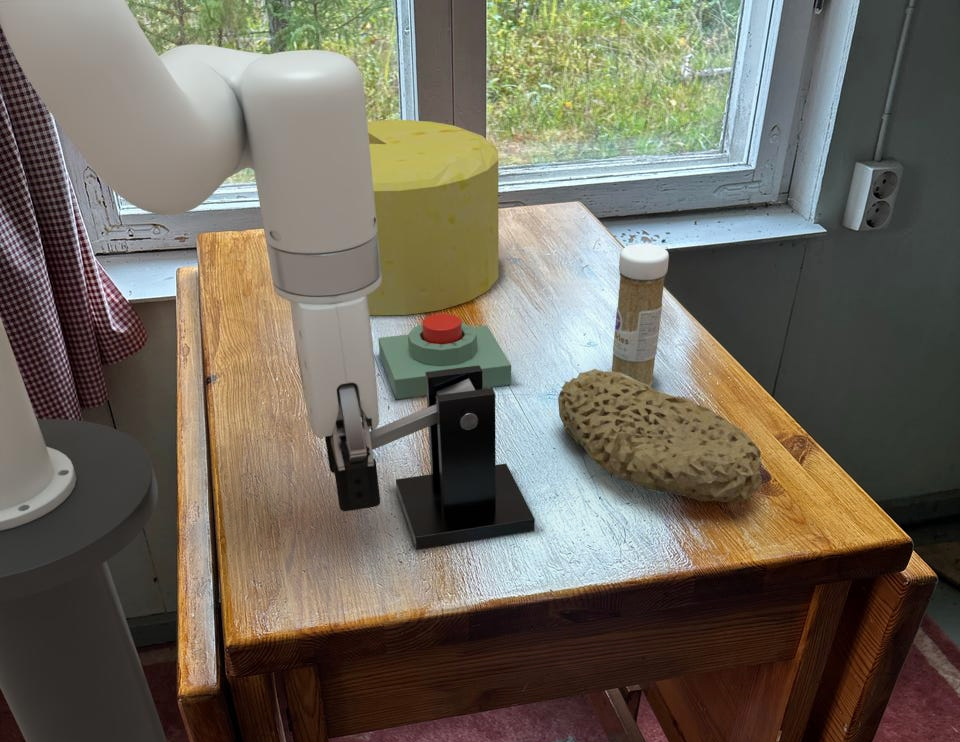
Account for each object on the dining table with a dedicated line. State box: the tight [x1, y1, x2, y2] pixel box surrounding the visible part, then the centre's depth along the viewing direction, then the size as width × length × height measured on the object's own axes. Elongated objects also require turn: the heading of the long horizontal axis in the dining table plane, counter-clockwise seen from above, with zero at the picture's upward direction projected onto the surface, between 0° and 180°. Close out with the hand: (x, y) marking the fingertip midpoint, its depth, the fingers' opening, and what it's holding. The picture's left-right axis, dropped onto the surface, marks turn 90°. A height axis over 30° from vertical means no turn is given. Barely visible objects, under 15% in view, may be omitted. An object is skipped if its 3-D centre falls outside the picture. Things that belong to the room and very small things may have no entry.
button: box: [421, 313, 463, 344], centre depth 99 cm, size 4×4×2 cm
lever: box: [330, 379, 475, 464], centre depth 76 cm, size 12×5×2 cm, turn 104°
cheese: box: [367, 119, 499, 316], centre depth 118 cm, size 26×26×15 cm
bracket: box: [395, 365, 536, 550], centre depth 79 cm, size 10×9×12 cm
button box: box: [377, 321, 512, 400], centre depth 101 cm, size 12×10×4 cm
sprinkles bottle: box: [610, 243, 670, 388], centre depth 95 cm, size 5×5×14 cm
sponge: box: [557, 368, 763, 503], centre depth 85 cm, size 13×8×20 cm
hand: (354, 485), depth 79 cm, fingers closed on lever, 5 cm apart
